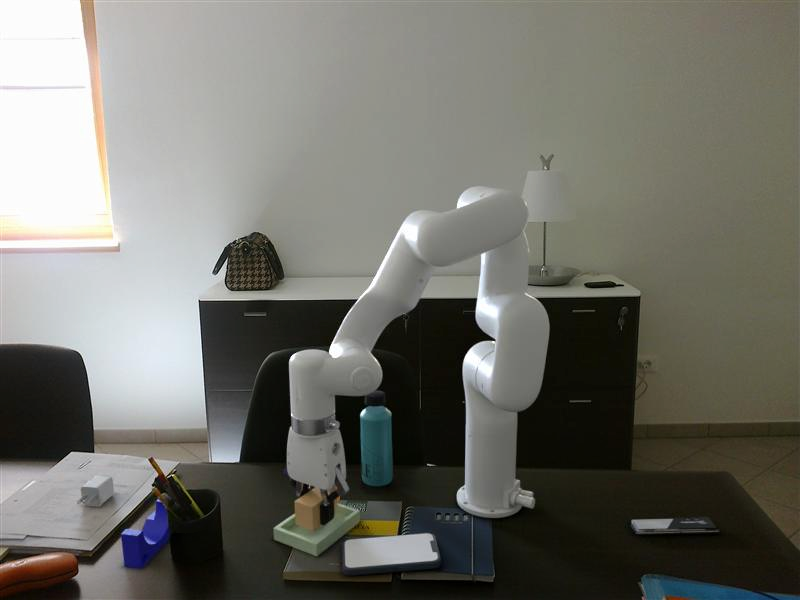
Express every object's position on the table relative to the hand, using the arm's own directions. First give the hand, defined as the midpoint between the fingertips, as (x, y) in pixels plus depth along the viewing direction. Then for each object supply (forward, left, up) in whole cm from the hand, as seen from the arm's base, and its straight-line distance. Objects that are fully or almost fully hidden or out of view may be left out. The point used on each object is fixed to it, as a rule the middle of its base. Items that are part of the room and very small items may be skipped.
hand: (316, 516), depth 121 cm
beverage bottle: (0, -19, -3) cm, 19 cm away
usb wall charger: (+43, +15, -3) cm, 46 cm away
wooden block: (0, 0, 0) cm, 0 cm away
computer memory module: (-54, -33, -3) cm, 63 cm away
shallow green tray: (0, 0, -3) cm, 3 cm away
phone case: (-16, 0, -3) cm, 16 cm away
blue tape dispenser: (+22, +19, -3) cm, 29 cm away
